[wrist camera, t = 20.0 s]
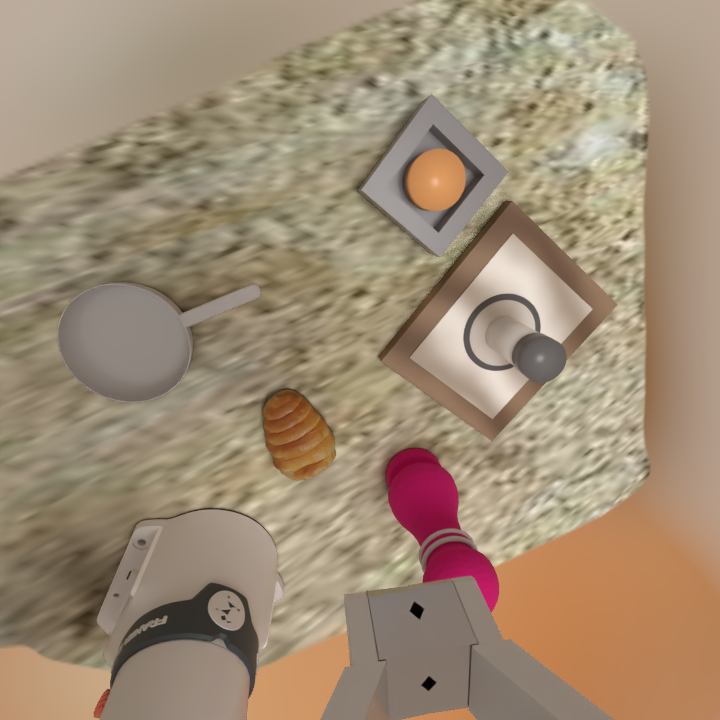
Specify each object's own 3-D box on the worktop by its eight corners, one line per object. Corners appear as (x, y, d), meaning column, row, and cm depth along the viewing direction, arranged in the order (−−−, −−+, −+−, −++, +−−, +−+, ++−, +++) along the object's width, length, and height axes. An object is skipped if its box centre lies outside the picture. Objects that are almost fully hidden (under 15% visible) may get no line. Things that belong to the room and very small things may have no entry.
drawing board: (486, 434, 50) (493, 442, 48) (378, 356, 45) (381, 362, 43) (607, 301, 46) (620, 305, 44) (505, 201, 41) (514, 200, 39)
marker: (511, 356, 44) (554, 387, 37) (478, 346, 44) (515, 376, 36) (526, 321, 43) (574, 346, 36) (493, 310, 43) (534, 334, 35)
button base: (430, 253, 42) (439, 257, 39) (356, 190, 39) (361, 189, 36) (493, 173, 40) (508, 171, 37) (421, 102, 37) (431, 94, 34)
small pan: (51, 305, 39) (26, 315, 35) (236, 225, 39) (229, 228, 35) (119, 404, 43) (102, 422, 39) (287, 332, 43) (286, 344, 39)
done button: (432, 221, 40) (439, 222, 37) (391, 186, 38) (397, 185, 36) (467, 177, 39) (477, 175, 36) (427, 138, 37) (435, 134, 35)
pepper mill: (437, 498, 52) (515, 665, 33) (377, 497, 51) (424, 670, 32) (448, 444, 49) (538, 591, 31) (385, 442, 48) (440, 594, 30)
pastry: (247, 400, 45) (243, 417, 41) (308, 376, 45) (310, 391, 41) (284, 472, 48) (283, 493, 44) (341, 449, 48) (345, 469, 45)
